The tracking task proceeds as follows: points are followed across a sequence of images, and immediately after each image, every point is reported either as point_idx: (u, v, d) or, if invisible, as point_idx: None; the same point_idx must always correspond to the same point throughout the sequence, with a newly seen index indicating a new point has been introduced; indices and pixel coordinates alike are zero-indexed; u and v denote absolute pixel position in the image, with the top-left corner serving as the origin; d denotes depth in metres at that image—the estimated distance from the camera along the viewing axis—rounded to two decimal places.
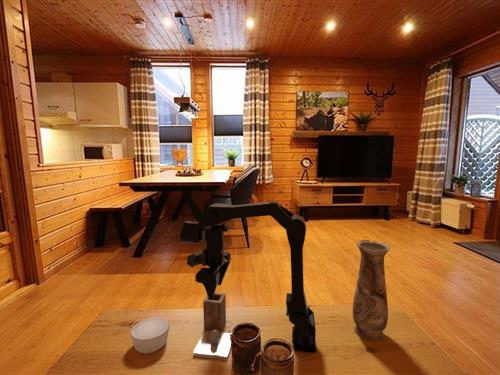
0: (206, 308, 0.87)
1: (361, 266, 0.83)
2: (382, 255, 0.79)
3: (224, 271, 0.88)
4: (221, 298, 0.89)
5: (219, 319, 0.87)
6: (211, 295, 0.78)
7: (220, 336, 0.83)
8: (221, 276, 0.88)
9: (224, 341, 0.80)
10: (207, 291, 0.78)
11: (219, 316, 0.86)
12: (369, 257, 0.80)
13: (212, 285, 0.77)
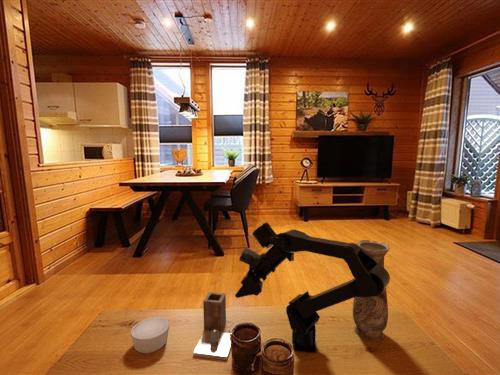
0: (206, 308, 0.87)
1: None
2: (382, 255, 0.79)
3: None
4: (221, 298, 0.89)
5: (219, 319, 0.87)
6: (239, 295, 0.82)
7: (220, 336, 0.83)
8: None
9: (224, 341, 0.80)
10: (240, 291, 0.81)
11: (219, 316, 0.86)
12: None
13: (248, 291, 0.81)
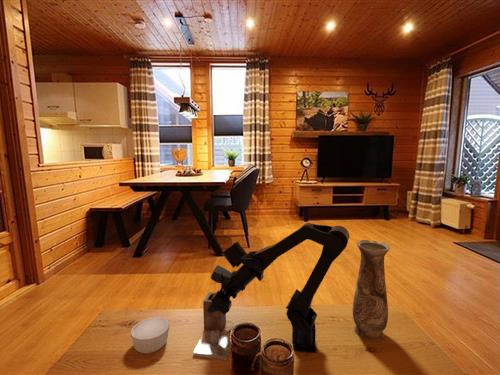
0: (206, 308, 0.87)
1: (361, 266, 0.83)
2: (382, 255, 0.79)
3: None
4: None
5: (219, 319, 0.87)
6: (211, 310, 0.86)
7: (220, 336, 0.83)
8: None
9: (224, 341, 0.80)
10: (211, 306, 0.85)
11: (219, 316, 0.86)
12: (369, 257, 0.80)
13: None
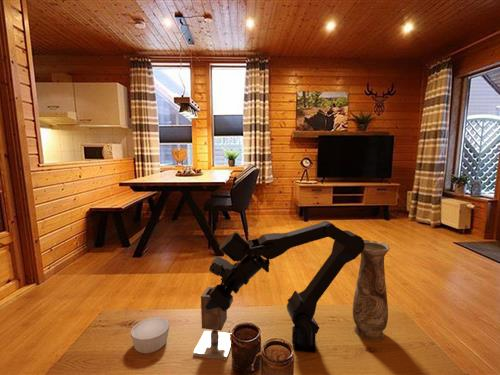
0: (204, 304, 0.77)
1: (361, 266, 0.83)
2: (382, 255, 0.79)
3: None
4: None
5: (219, 317, 0.76)
6: (210, 307, 0.76)
7: (220, 336, 0.83)
8: None
9: (224, 341, 0.80)
10: (210, 302, 0.75)
11: (219, 313, 0.76)
12: (369, 257, 0.80)
13: None
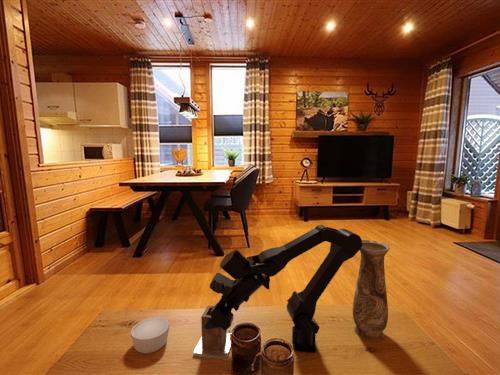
0: None
1: (361, 266, 0.83)
2: (382, 255, 0.79)
3: None
4: None
5: (219, 337, 0.76)
6: (209, 327, 0.74)
7: None
8: None
9: None
10: (209, 322, 0.74)
11: (219, 334, 0.76)
12: (369, 257, 0.80)
13: (218, 323, 0.73)
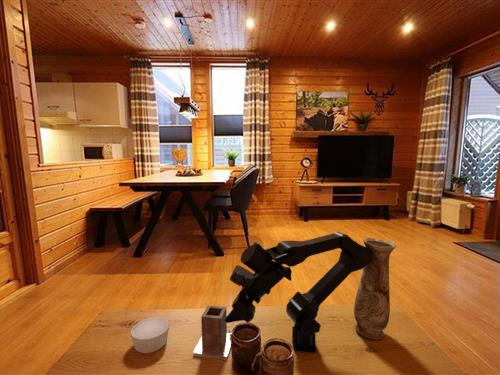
0: (205, 324, 0.77)
1: None
2: (388, 252, 0.80)
3: None
4: (222, 313, 0.78)
5: (219, 337, 0.76)
6: (230, 320, 0.73)
7: None
8: None
9: None
10: (230, 315, 0.72)
11: (219, 334, 0.76)
12: (375, 254, 0.81)
13: (239, 316, 0.71)
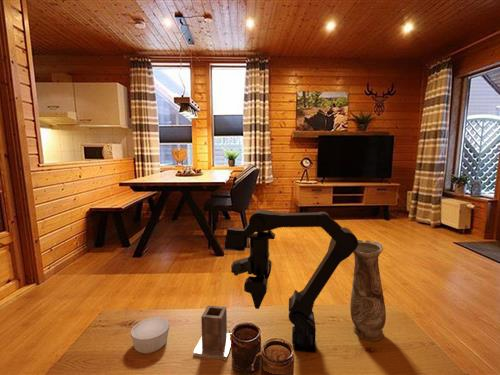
0: (205, 324, 0.77)
1: (356, 268, 0.81)
2: (376, 256, 0.77)
3: (266, 279, 0.85)
4: (222, 313, 0.78)
5: (219, 337, 0.76)
6: (258, 305, 0.76)
7: None
8: None
9: None
10: (254, 301, 0.76)
11: (219, 334, 0.76)
12: (363, 260, 0.79)
13: (260, 294, 0.75)
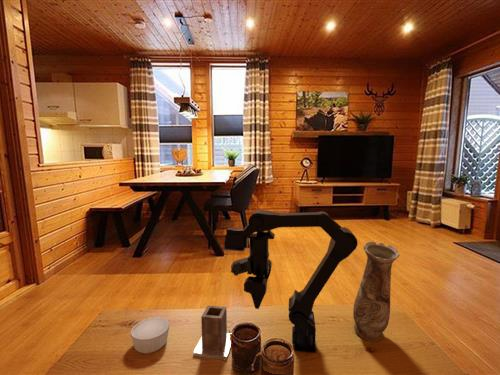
0: (205, 324, 0.77)
1: (367, 271, 0.79)
2: (391, 262, 0.75)
3: (266, 279, 0.85)
4: (222, 313, 0.78)
5: (219, 337, 0.76)
6: (258, 305, 0.76)
7: None
8: None
9: None
10: (254, 300, 0.76)
11: (219, 334, 0.76)
12: (378, 264, 0.75)
13: (260, 294, 0.75)
